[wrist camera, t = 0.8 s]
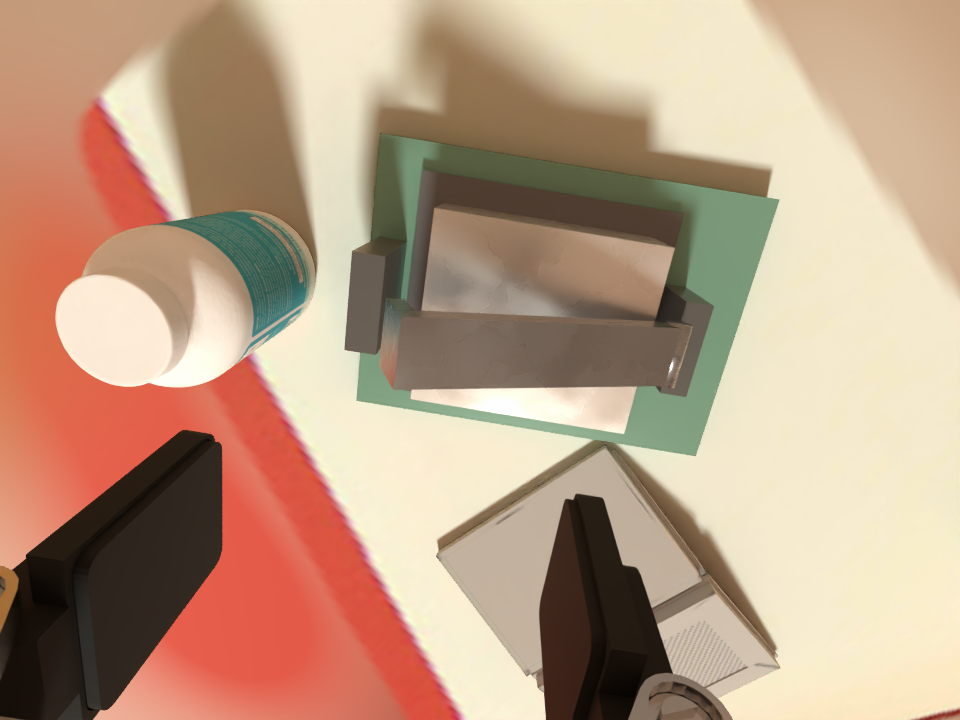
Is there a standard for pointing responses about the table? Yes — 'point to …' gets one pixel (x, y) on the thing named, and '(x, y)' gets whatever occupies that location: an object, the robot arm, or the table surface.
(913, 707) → the table surface
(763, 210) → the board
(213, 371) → the pill bottle
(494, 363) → the strap
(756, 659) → the gadget
